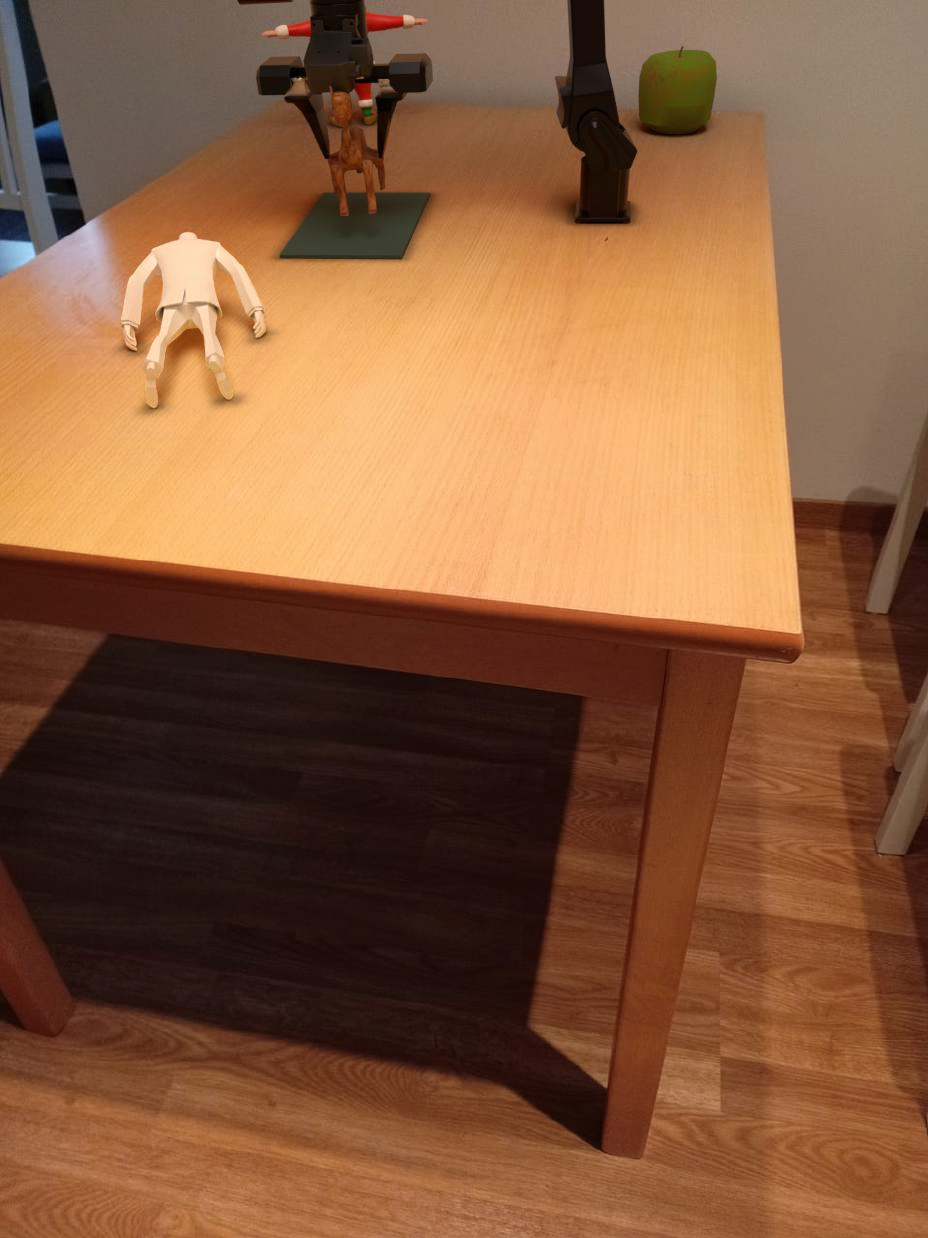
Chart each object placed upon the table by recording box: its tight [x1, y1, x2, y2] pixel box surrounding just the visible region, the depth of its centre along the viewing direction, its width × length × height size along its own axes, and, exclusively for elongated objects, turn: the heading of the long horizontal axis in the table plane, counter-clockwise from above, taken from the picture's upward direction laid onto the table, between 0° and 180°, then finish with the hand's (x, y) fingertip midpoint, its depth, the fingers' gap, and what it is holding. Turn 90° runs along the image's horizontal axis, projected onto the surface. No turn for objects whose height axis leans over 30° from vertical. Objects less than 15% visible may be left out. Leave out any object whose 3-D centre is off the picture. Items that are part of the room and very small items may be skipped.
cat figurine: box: [327, 86, 386, 217], centre depth 112 cm, size 18×7×14 cm, turn 3°
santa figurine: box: [261, 11, 429, 129], centre depth 148 cm, size 25×6×19 cm, turn 103°
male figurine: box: [120, 231, 267, 409], centre depth 92 cm, size 14×6×25 cm
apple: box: [637, 45, 718, 135], centre depth 142 cm, size 11×11×11 cm
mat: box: [279, 192, 431, 260], centre depth 118 cm, size 22×14×1 cm, turn 173°
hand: (354, 157), depth 113 cm, fingers closed on cat figurine, 6 cm apart
